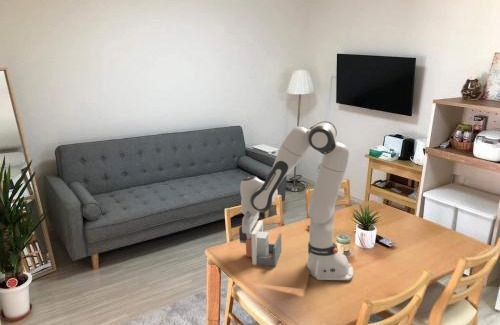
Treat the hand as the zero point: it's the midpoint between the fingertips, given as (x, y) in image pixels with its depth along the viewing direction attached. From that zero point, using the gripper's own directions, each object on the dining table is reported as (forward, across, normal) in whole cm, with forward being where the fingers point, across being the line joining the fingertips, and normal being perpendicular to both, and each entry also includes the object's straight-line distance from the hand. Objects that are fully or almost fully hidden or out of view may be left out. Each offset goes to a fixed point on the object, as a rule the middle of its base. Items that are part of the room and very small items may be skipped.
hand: (251, 233), depth 194 cm
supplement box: (+13, 0, -4) cm, 14 cm away
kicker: (+12, 0, +1) cm, 13 cm away
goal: (+13, 0, -9) cm, 15 cm away
